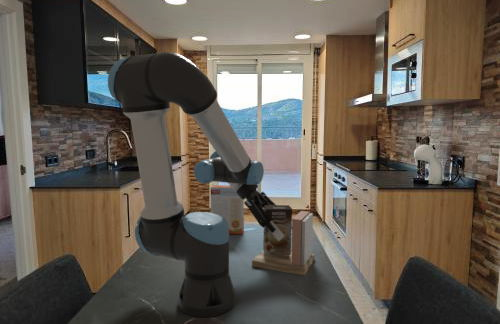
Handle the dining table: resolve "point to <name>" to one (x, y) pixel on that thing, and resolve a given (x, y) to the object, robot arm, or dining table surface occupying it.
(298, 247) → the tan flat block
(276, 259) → the shelf board
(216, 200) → the cracker box
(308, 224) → the bookend
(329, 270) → the dining table surface
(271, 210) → the coffee box
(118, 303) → the dining table surface
